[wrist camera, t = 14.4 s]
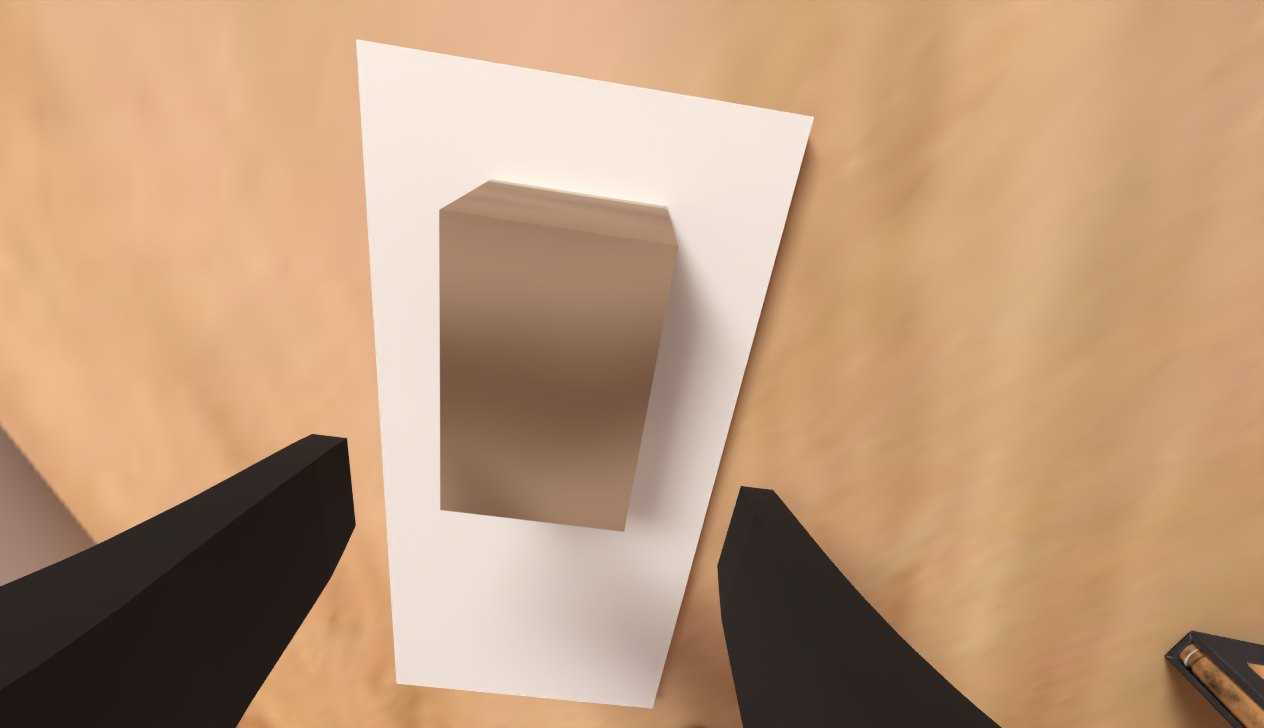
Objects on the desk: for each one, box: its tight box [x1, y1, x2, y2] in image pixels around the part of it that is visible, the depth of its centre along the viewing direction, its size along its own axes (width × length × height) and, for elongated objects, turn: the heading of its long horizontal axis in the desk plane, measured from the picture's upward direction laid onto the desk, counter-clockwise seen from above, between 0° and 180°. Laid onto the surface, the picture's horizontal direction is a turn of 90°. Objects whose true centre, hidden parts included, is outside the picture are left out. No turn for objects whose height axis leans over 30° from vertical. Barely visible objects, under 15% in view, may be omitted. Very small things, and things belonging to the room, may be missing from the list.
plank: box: [356, 39, 814, 709], centre depth 21 cm, size 26×12×1 cm, turn 171°
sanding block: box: [439, 179, 678, 532], centre depth 15 cm, size 8×5×5 cm, turn 171°
